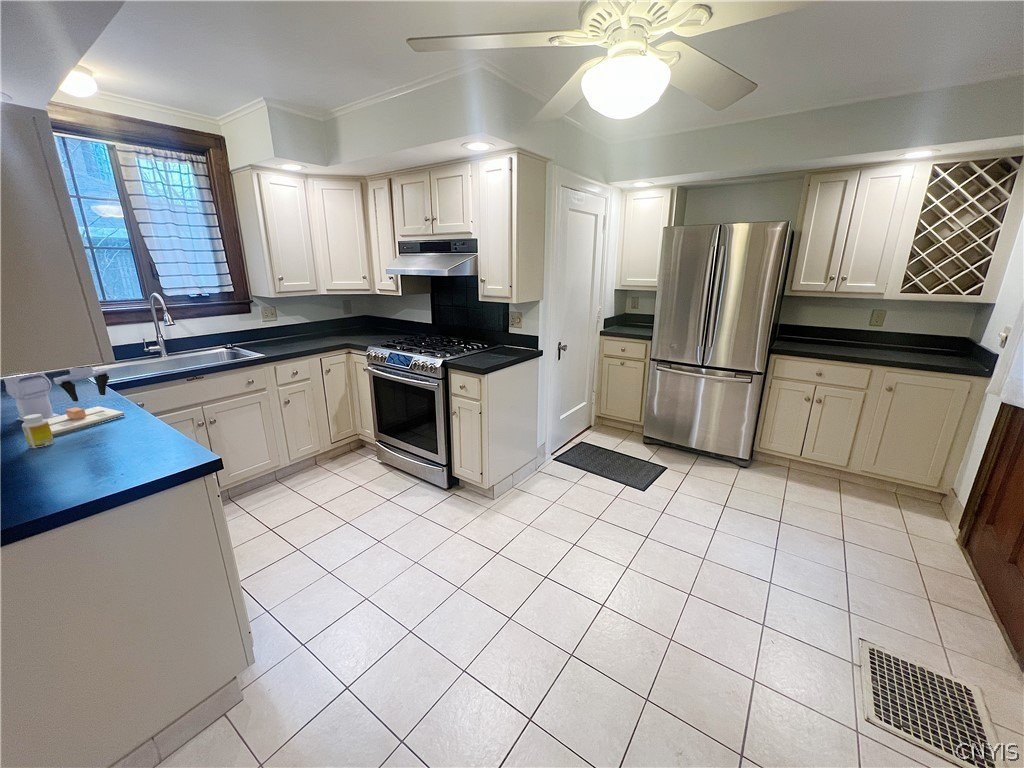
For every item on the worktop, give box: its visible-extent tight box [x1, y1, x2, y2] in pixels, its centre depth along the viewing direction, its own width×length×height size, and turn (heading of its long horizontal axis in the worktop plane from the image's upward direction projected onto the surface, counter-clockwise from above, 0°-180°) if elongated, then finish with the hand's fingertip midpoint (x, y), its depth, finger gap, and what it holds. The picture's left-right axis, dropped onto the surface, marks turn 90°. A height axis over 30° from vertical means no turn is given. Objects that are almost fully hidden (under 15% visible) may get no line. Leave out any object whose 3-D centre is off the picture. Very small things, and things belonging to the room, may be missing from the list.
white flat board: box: [46, 405, 126, 437], centre depth 149 cm, size 16×20×2 cm
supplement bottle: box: [21, 414, 55, 449], centre depth 130 cm, size 6×6×10 cm
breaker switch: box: [65, 406, 86, 419], centre depth 148 cm, size 5×3×4 cm, turn 70°
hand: (89, 397), depth 147 cm, fingers open, 7 cm apart
